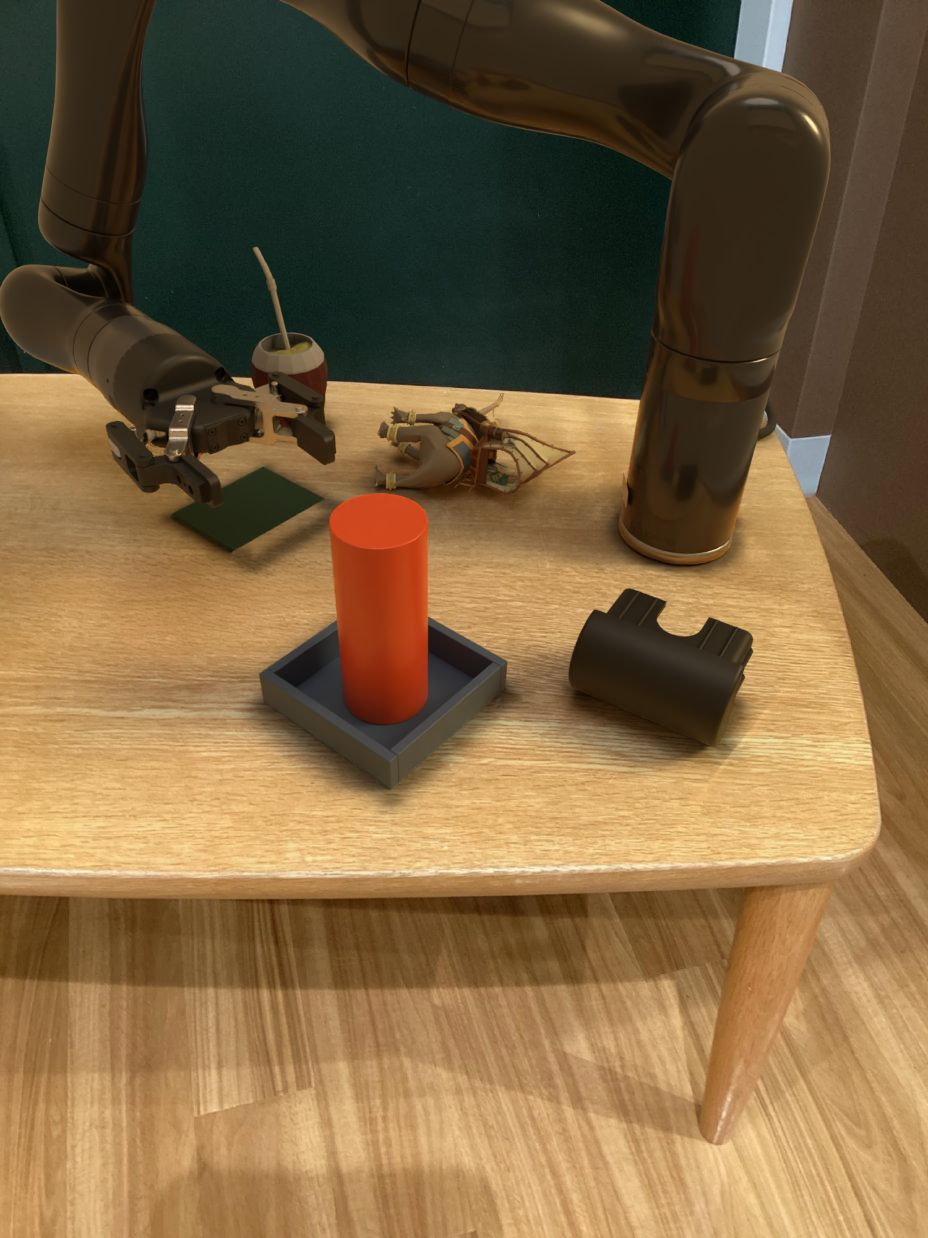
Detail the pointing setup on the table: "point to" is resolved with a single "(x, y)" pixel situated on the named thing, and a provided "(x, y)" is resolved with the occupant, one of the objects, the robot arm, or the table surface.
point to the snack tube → (381, 605)
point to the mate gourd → (287, 353)
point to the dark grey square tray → (385, 752)
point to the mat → (248, 509)
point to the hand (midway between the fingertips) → (276, 472)
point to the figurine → (464, 450)
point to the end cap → (661, 666)
